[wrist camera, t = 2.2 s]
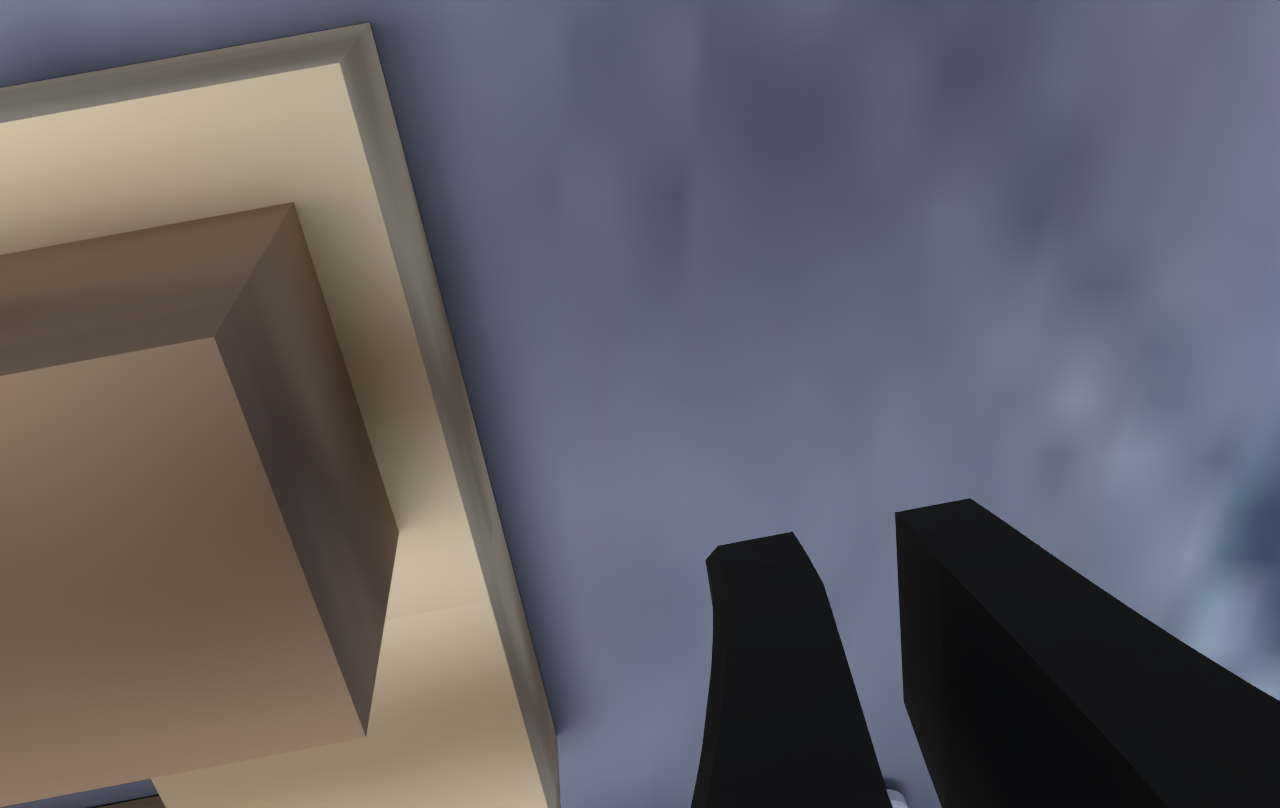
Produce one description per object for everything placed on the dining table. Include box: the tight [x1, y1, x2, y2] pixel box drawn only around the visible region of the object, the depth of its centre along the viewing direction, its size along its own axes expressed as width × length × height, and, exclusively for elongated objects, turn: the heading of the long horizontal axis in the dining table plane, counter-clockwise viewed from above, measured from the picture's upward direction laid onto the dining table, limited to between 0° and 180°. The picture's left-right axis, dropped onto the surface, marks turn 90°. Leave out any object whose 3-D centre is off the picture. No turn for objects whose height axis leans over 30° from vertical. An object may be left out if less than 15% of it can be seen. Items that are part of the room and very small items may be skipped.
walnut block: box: [0, 202, 399, 807], centre depth 13 cm, size 5×5×4 cm
